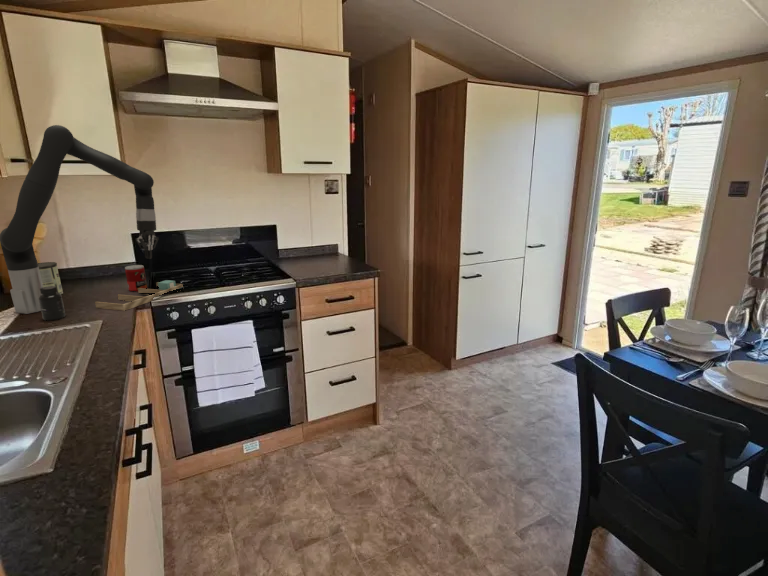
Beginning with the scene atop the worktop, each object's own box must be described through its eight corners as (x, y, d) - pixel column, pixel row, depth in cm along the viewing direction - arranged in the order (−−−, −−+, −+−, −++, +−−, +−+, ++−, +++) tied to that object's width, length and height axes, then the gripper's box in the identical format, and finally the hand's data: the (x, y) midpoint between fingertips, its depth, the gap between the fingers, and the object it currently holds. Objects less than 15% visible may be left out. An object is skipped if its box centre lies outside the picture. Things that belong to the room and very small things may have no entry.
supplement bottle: (39, 322, 154) (32, 290, 151) (48, 316, 161) (41, 286, 157) (61, 320, 156) (54, 289, 153) (69, 314, 162) (62, 284, 159)
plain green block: (168, 294, 189) (167, 283, 188) (159, 293, 190) (157, 282, 189) (176, 291, 194) (175, 280, 192) (167, 290, 195) (166, 280, 194)
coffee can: (33, 294, 189) (25, 264, 185) (61, 290, 196) (54, 261, 192) (36, 299, 182) (28, 268, 178) (65, 294, 189) (58, 264, 185)
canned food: (139, 292, 192) (135, 268, 189) (124, 291, 194) (120, 268, 191) (151, 287, 199) (147, 265, 196) (137, 287, 201) (133, 264, 198)
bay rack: (124, 310, 166) (123, 304, 166) (96, 307, 170) (95, 301, 169) (183, 289, 196) (182, 284, 196) (157, 287, 200) (157, 282, 199)
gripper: (148, 219, 192) (150, 256, 195) (127, 219, 179) (130, 259, 182) (163, 219, 191) (165, 257, 194) (144, 220, 178) (146, 260, 181)
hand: (148, 258), depth 188 cm, fingers closed
